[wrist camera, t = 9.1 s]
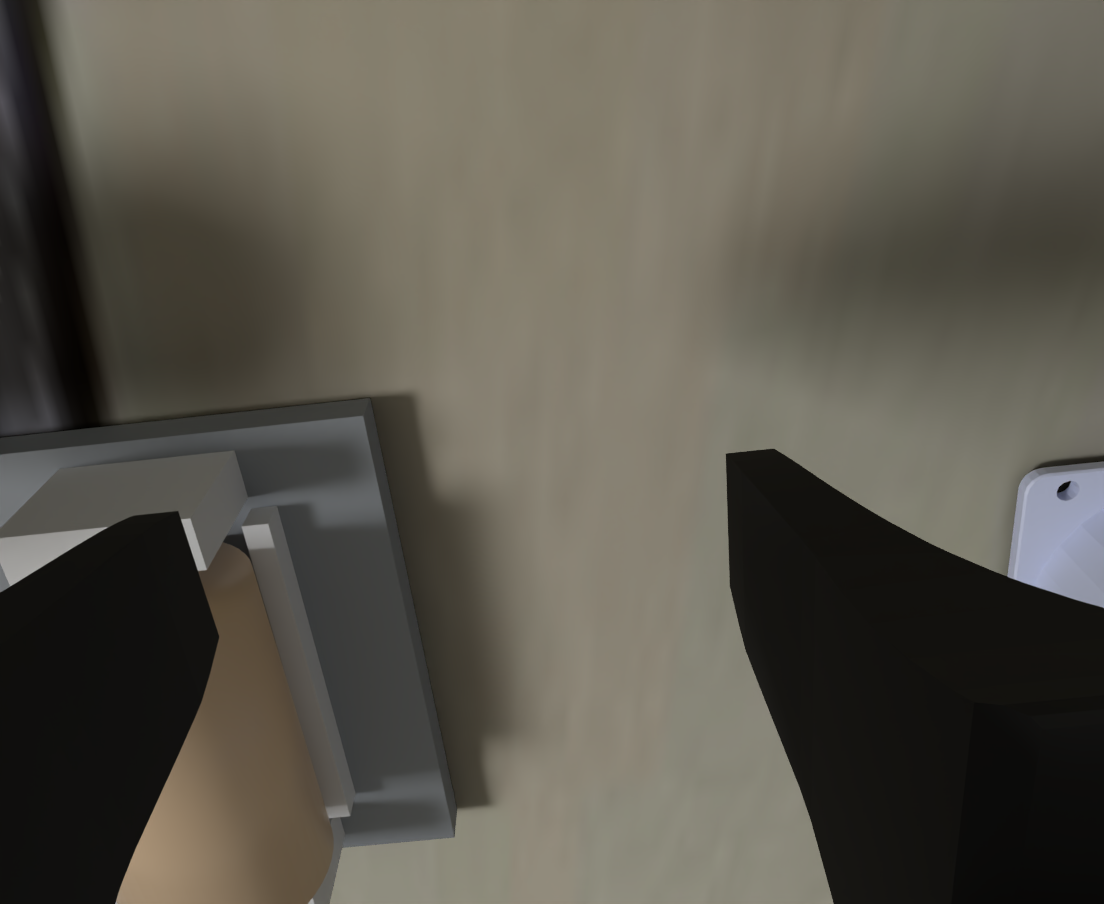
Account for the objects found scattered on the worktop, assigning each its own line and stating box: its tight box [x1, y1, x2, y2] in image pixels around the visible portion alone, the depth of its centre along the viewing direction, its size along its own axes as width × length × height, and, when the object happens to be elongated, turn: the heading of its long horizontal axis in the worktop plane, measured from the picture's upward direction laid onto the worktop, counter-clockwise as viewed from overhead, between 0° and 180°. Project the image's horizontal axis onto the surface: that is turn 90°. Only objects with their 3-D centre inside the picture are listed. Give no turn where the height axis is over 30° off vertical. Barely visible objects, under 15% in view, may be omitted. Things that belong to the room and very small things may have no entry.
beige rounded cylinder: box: [116, 542, 334, 904], centre depth 22 cm, size 5×8×5 cm, turn 6°
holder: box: [0, 398, 457, 904], centre depth 23 cm, size 10×13×4 cm
